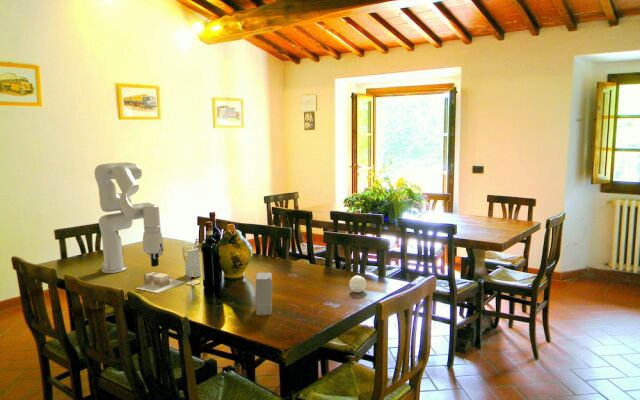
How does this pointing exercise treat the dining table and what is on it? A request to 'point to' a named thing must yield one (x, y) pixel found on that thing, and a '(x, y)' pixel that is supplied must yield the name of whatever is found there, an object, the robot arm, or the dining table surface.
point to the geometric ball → (357, 284)
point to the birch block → (157, 279)
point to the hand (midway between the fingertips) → (155, 265)
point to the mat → (160, 289)
